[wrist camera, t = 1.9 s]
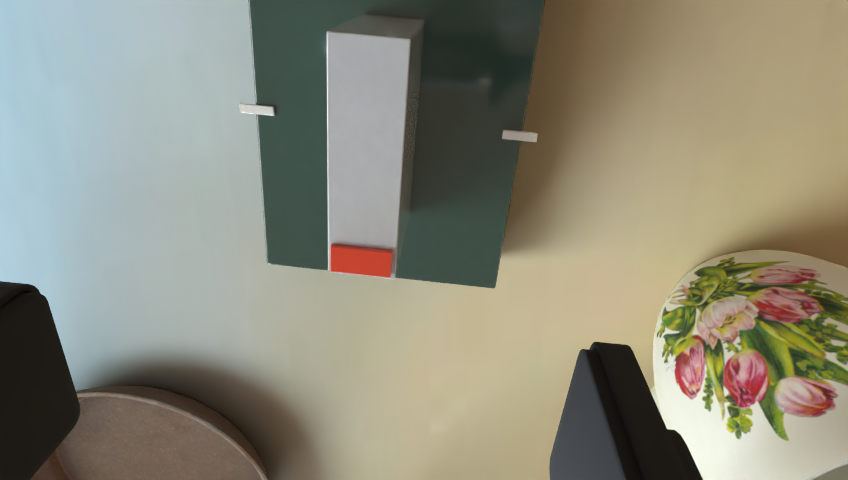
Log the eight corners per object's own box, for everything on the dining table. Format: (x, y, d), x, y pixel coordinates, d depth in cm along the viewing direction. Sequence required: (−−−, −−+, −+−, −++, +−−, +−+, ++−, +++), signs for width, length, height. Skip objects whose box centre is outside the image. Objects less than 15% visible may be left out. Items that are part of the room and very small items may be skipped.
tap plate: (253, -101, 21) (220, -111, 18) (562, -73, 20) (577, -78, 18) (274, 234, 28) (253, 264, 25) (503, 258, 28) (508, 292, 25)
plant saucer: (98, 313, 31) (64, 347, 29) (338, 458, 36) (327, 499, 33) (3, 458, 38) (-32, 496, 36) (212, 564, 43) (195, 605, 40)
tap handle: (360, 13, 20) (323, 32, 15) (424, 19, 20) (410, 40, 14) (356, 207, 23) (326, 276, 18) (410, 213, 23) (394, 283, 18)
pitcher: (519, 349, 30) (553, 608, 18) (823, 128, 23) (1210, 311, 11) (637, 448, 33) (734, 727, 21) (939, 278, 26) (1342, 551, 14)
